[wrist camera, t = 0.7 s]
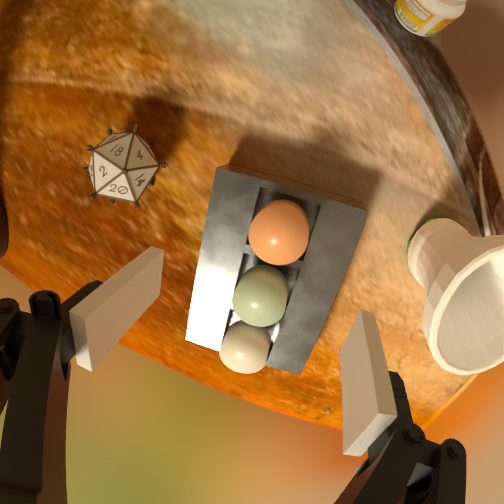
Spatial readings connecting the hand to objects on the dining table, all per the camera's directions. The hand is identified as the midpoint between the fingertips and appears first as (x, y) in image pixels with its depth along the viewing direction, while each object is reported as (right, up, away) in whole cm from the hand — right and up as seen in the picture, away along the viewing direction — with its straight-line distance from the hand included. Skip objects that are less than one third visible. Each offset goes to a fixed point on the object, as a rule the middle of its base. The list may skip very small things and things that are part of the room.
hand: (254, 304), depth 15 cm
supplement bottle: (+17, +27, +6) cm, 32 cm away
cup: (+20, +3, +15) cm, 25 cm away
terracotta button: (+2, +5, +12) cm, 14 cm away
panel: (+2, +1, +19) cm, 19 cm away
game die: (-12, +13, +17) cm, 25 cm away
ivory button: (0, -7, +17) cm, 19 cm away
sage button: (+1, -1, +15) cm, 15 cm away
